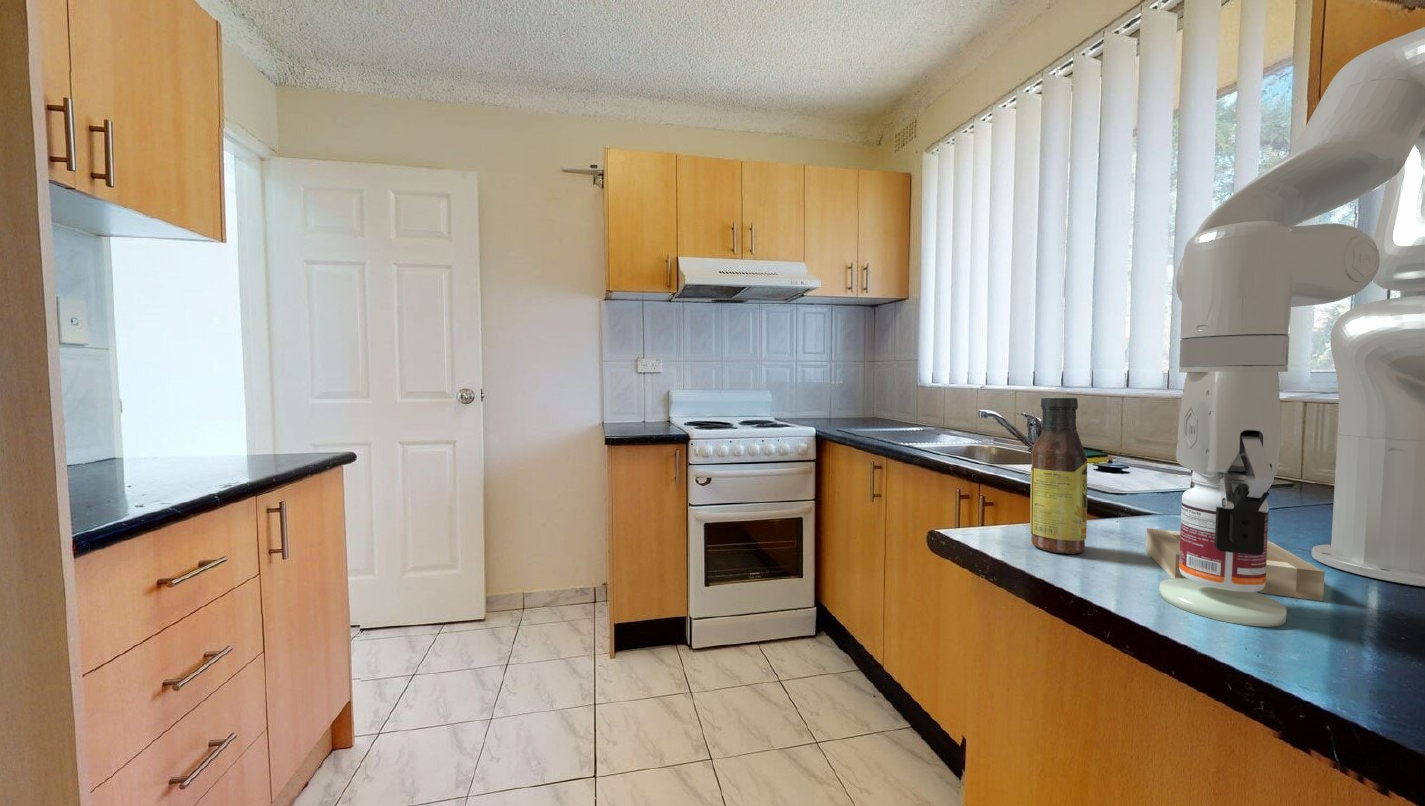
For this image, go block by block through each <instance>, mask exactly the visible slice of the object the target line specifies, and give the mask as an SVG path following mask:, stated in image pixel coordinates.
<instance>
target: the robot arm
mask: <svg viewBox="0 0 1425 806" xmlns="http://www.w3.org/2000/svg"><path fill="white" fill-rule="evenodd" d="M1293 146H1294V147H1293V148H1292V150H1291V151H1290V153H1289V154H1288V155H1287V156H1285V157H1283V158H1282V159H1280V160H1279V161H1277V162H1276V163H1274V164H1273V165H1272V166H1271V167H1269V168H1268V169H1266V170H1265V171H1263V172H1262V173H1260V174H1259V175H1257V176H1256V177H1255V178H1254V179H1252V180H1251V181H1250V182H1248V183H1247V184H1246V185H1244V186H1243V187H1242V188H1240V189H1239V190H1237V191H1236V192H1234V194H1232V195H1231V196H1230V197H1228V198H1227V199H1226V200H1224V201H1223V202H1222V203H1221V204H1220V205H1219V206H1217V207H1216V208H1215V209H1214V210H1212V212H1211V213H1210V214H1209V215H1208V216H1207V217H1206V218H1205V220H1204V221H1203V222H1202V223H1201V224H1200V226H1199V227H1198V229H1197V231H1196V233H1195V234H1194V235H1193V236H1192V237H1190V238H1189V240H1188V241H1187V242H1186V245H1185V247H1184V251H1183V257H1182V258H1181V259H1180V260H1181V261H1180V264H1179V266H1178V269H1177V272H1176V278H1175V289H1176V294H1177V297H1178V298H1179V301H1180V302H1181V311H1180V314H1181V316H1180V317H1181V318H1180V337H1179V339H1180V342H1179V343H1180V344H1179V365H1178V367H1179V368H1178V373H1184V374H1185V373H1186V374H1185V378H1184V383H1183V388H1182V394H1181V401H1180V409H1179V419H1178V429H1177V441H1176V450H1175V451H1176V452H1175V459H1176V462H1177V463H1178V464H1179V465H1180V466H1182V467H1183V468H1186V469H1187V470H1190V472H1191V474H1192V472H1193V471H1194V472H1196V473H1199V474H1201V475H1204V476H1207V477H1213V476H1215V475H1216V473H1217V472H1218V478H1219V486H1220V495H1221V503H1222V507H1216V527H1215V547H1216V548H1217V549H1218V550H1220V551H1224V552H1233V553H1242V554H1251V555H1261V554H1263V552H1264V532H1265V512H1266V511H1267V503H1268V501H1267V498H1268V496H1269V495H1270V492H1269V491H1270V488H1271V486H1272V484H1273V483H1274V481H1275V476H1276V475H1277V473H1278V469H1279V465H1280V454H1281V452H1280V451H1281V432H1282V431H1281V427H1282V426H1281V425H1282V424H1281V399H1280V384H1279V383H1280V382H1279V374H1278V373H1287V372H1288V371H1289V351H1290V349H1289V348H1290V332H1291V315H1292V314H1291V313H1292V312H1291V311H1292V310H1291V309H1292V308H1295V307H1296V308H1297V307H1298V308H1299V307H1306V306H1317V305H1323V304H1325V305H1326V304H1331V303H1334V302H1339V301H1343V300H1345V299H1348V298H1350V297H1353V296H1355V295H1357V294H1358V293H1360V292H1361V291H1363V290H1364V289H1365V288H1366V287H1368V286H1369V284H1370V283H1372V281H1373V283H1374V284H1375V285H1376V286H1378V287H1380V288H1382V289H1385V290H1388V291H1394V292H1395V291H1397V292H1422V291H1423V292H1424V291H1425V26H1424V27H1421V28H1419V29H1416V30H1413V31H1410V32H1407V33H1405V34H1403V35H1400V36H1398V37H1395V38H1393V39H1390V40H1388V41H1386V42H1385V41H1384V42H1382V43H1381V44H1379V45H1377V46H1373V47H1372V48H1369V49H1368V50H1366V51H1364V52H1362V53H1361V54H1359V55H1357V56H1355V57H1354V58H1353V59H1351V60H1350V61H1348V62H1347V63H1346V64H1344V66H1343V67H1342V68H1341V69H1340V70H1338V72H1337V73H1336V75H1334V77H1333V78H1332V80H1331V81H1330V82H1329V85H1328V86H1327V88H1326V89H1325V92H1324V93H1323V95H1322V97H1321V98H1320V100H1319V102H1318V103H1317V105H1316V107H1315V109H1314V111H1313V113H1312V114H1311V116H1310V118H1309V120H1308V122H1307V124H1306V126H1305V127H1304V129H1303V131H1302V133H1301V134H1300V136H1299V137H1298V139H1297V140H1296V143H1295V145H1293ZM1383 185H1385V186H1384V191H1383V192H1384V193H1383V199H1382V203H1381V207H1380V210H1379V213H1378V214H1379V215H1378V219H1377V223H1376V226H1375V227H1376V228H1375V232H1374V236H1373V237H1371V235H1369V234H1368V233H1367V232H1365V231H1363V230H1361V229H1360V228H1358V227H1355V226H1352V225H1348V224H1342V223H1321V224H1317V223H1316V224H1311V225H1310V224H1308V225H1299V224H1302V223H1304V222H1307V221H1309V220H1312V219H1315V218H1317V217H1319V216H1321V215H1324V214H1327V213H1328V212H1331V211H1334V210H1336V209H1337V208H1340V207H1343V206H1345V205H1347V204H1348V203H1351V202H1354V201H1355V200H1357V199H1360V198H1362V197H1364V196H1365V195H1367V194H1369V193H1371V192H1373V191H1375V190H1377V189H1379V188H1380V187H1382V186H1383ZM1330 350H1331V356H1332V360H1333V364H1334V368H1335V375H1336V380H1337V381H1336V383H1337V391H1338V419H1337V435H1336V436H1337V437H1336V455H1335V456H1336V457H1335V471H1334V473H1335V475H1334V489H1333V491H1334V492H1333V508H1332V524H1331V525H1332V526H1331V542H1330V543H1331V544H1319V545H1315V546H1313V547H1311V556H1312V558H1313V559H1314V560H1316V561H1318V562H1319V563H1321V564H1324V565H1326V566H1328V567H1332V568H1335V569H1337V570H1341V571H1345V572H1348V573H1353V574H1356V575H1359V576H1364V577H1369V578H1373V579H1378V580H1382V581H1387V582H1393V583H1398V584H1404V585H1410V586H1416V587H1417V586H1418V587H1423V588H1424V587H1425V294H1423V295H1422V294H1421V295H1412V296H1411V295H1410V296H1403V297H1402V296H1401V297H1395V298H1385V299H1381V300H1380V299H1379V300H1376V301H1371V302H1366V303H1364V304H1360V305H1358V306H1355V307H1353V308H1351V309H1349V310H1347V311H1346V312H1344V313H1343V314H1341V315H1340V317H1338V318H1337V320H1336V321H1335V323H1334V324H1333V326H1332V328H1331V332H1330ZM1228 471H1234V472H1245V471H1246V475H1237V474H1228ZM1192 480H1193V479H1192V477H1191V478H1190V483H1189V489H1191V488H1194V487H1195V484H1196V483H1195V482H1193V481H1192ZM1232 483H1234V484H1238V486H1237V487H1236V488H1235V491H1234V492H1233V490H1232Z"/></svg>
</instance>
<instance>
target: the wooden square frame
mask: <svg viewBox="0 0 1425 806" xmlns="http://www.w3.org/2000/svg"><path fill="white" fill-rule="evenodd" d="M1145 537H1146V538H1145V540H1146V542H1145V552H1146V553H1147V554H1148V555H1149V556H1150V557H1151V559H1152V560H1154V562H1156V563H1157V564H1158V565H1159V567H1160V568H1161V569H1162V570H1164V572H1165V573H1166V574H1167V575H1168V576H1169V577H1170V579H1175V578H1183V579H1187V578H1186V577H1184V576H1183V575H1182V574H1181V573H1180V570H1179V556H1180V530H1179V531H1177V530H1166V529H1158V528H1157V529H1156V528H1146V536H1145ZM1324 588H1325V571H1324V570H1322V569H1320V568H1319V567H1318V566H1317V567H1316V566H1315V565H1313V564H1312V563H1310V562H1309V561H1306V560H1304V559H1302V558H1301V557H1299V556H1297V555H1295V554H1293V553H1292V552H1290V551H1289V550H1286V549H1284V548H1283V547H1281V546H1279V545H1278V544H1275V543H1274V542H1272V541H1270V540H1267V564H1266V583H1265V587H1264V589H1262V590H1260V591H1256V593H1259V594H1267V595H1275V596H1282V597H1287V598H1288V597H1289V598H1296V599H1297V598H1298V599H1304V600H1305V599H1306V600H1311V601H1319V602H1323V601H1324V590H1325V589H1324Z"/></svg>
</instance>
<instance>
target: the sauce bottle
mask: <svg viewBox="0 0 1425 806" xmlns="http://www.w3.org/2000/svg"><path fill="white" fill-rule="evenodd" d="M1040 408H1041V411H1042V416H1041V417H1042V418H1041V419H1042V423H1041V424H1042V425H1041V430H1042V431H1041V433H1040V435H1039V437H1038V438H1037V439H1036V440H1035V442H1034V443H1033V446H1032V449H1031V467H1030V498H1029V499H1030V507H1029V508H1030V510H1029V511H1030V512H1029V514H1030V515H1029V517H1030V518H1029V520H1030V522H1029V523H1030V524H1029V525H1030V527H1029V528H1030V529H1029V532H1030V534H1031V536H1030V539H1031V540H1030V541H1031V544H1032V545H1033V546H1034V547H1035V548H1038V549H1040V550H1042V551H1046V552H1050V553H1058V554H1070V555H1074V554H1080V553H1082V552H1083V551H1084V550H1085V548H1086V547H1085V546H1086V542H1085V540H1086V539H1087V526H1088V525H1087V522H1088V521H1087V517H1088V511H1087V510H1088V458H1087V455H1086V453H1085V449H1084V446H1083V443H1082V442H1081V439H1080V435H1079V433H1078V430H1077V428H1078V427H1077V410H1078V408H1079V403H1078V397H1076V396H1075V397H1073V396H1071V397H1067V396H1065V397H1061V396H1056V397H1055V396H1044V397H1041V399H1040Z"/></svg>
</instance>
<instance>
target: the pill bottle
mask: <svg viewBox="0 0 1425 806" xmlns="http://www.w3.org/2000/svg"><path fill="white" fill-rule="evenodd" d="M1228 474H1237V475H1246V471H1245V472H1234V471H1228ZM1191 478H1192V479H1193V480H1192V481H1193V482H1195V483H1196V484H1195V487H1194V488H1191V489H1190V488H1189V489H1186V490H1185V491H1184V492H1183V493H1182V496H1181V509H1180V510H1181V512H1180V530H1179V532H1180V556H1179V570H1180V573H1181V574H1182V575H1183V576H1184V577H1186V578H1187V579H1189V580H1191V581H1194V582H1196V583H1199V584H1202V585H1205V586H1208V587H1213V588H1217V589H1223V590H1230V591H1239V592H1256V591H1260V590H1262V589H1264V587H1265V583H1266V564H1267V541H1268V538H1269V537H1268V535H1269V534H1268V533H1269V532H1268V531H1269V515H1270V513H1269V510H1270V508H1269V507H1270V506H1269V504H1268V502H1267V511H1266V512H1265V532H1264V552H1263V554H1261V555H1251V554H1242V553H1233V552H1224V551H1220V550H1218V549H1217V548H1216V547H1215V527H1216V507H1222V503H1221V495H1220V486H1219V478H1218V472H1217V473H1216V475H1215V476H1213V477H1207V476H1204V475H1201V474H1199V473H1196V472H1194V471H1193V472H1192V473H1191ZM1237 486H1238V484H1234V483H1232V490H1233V492H1234V491H1235V488H1236V487H1237ZM1256 593H1257V592H1256Z"/></svg>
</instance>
